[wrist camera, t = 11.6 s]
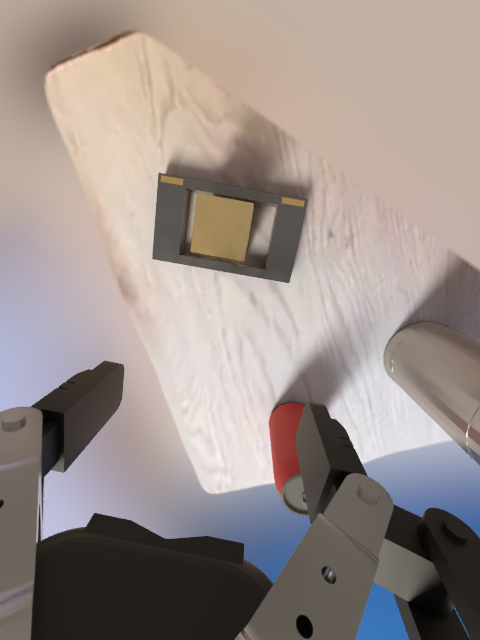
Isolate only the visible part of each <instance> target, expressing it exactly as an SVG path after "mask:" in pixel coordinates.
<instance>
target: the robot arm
mask: <svg viewBox="0 0 480 640" xmlns="http://www.w3.org/2000/svg"><path fill="white" fill-rule="evenodd" d="M384 366H385V370H386V371H387V373H388V375H389V376H390V377H391V378H392V379H393V380H394V381H395V382H396V383H397V384H398V385H399V386H400V387H401V388H402V389H403V390H404V391H405V392H406V393H407V394H408V395H409V396H410V397H411V398H412V399H413V400H414V401H415V402H416V403H417V404H418V405H419V406H420V407H421V408H422V409H423V410H424V411H425V412H426V413H427V414H428V415H429V416H430V417H431V418H432V419H433V420H434V421H435V422H436V423H437V424H438V425H439V426H440V427H441V428H442V429H443V430H444V431H445V432H446V433H447V434H448V435H449V436H450V437H451V438H452V439H453V440H454V441H455V442H456V443H458V445H459V446H460V447H461V448H462V449H464V450H465V452H466V453H467V454H469V455H470V456H471V457H472V458H473V459H474V460H475V461H476V462H477V463H478V464H479V465H480V342H479V341H477V340H475V339H472V338H470V337H468V336H466V335H464V334H461V333H459V332H457V331H454V330H452V329H450V328H448V327H445V326H443V325H441V324H438V323H434V322H420V323H415V324H412V325H410V326H407V327H405V328H404V329H402V330H400V331H399V332H398V333H397V334H396V335H395V336H394V337H393V338H392V339H391V341H390V342H389V343H388V345H387V348H386V350H385V354H384ZM123 378H124V366H123V364H119V363H114V362H109V361H103V362H102V363H101V364H99V365H98V366H97V367H96V368H94V369H93V370H86V371H83V372H81V373H78V374H76V375H74V376H73V377H71V378H70V379H69V380H67V382H65V383H63V384H62V385H60V386H59V388H56V389H55V390H53V391H52V392H51V393H49V394H48V395H47V396H45V397H44V398H42V399H41V400H40V401H38V402H37V403H35V404H34V405H32V406H31V407H17V408H12V409H8V410H5V411H2V412H0V640H355V639H356V635H357V632H358V629H359V626H360V622H361V619H362V616H363V613H364V610H365V606H366V603H367V600H368V597H369V593H370V590H371V587H372V584H373V582H375V583H376V584H378V585H380V586H382V587H384V588H385V589H387V590H389V591H391V592H392V593H394V596H395V599H396V602H397V605H398V608H399V611H400V613H401V617H402V619H403V622H404V625H405V628H406V631H407V634H408V637H409V639H410V640H480V539H479V538H478V536H477V535H476V534H475V532H473V530H472V529H471V528H470V527H469V526H468V525H466V524H465V523H464V522H463V521H461V520H460V519H459V518H457V517H456V516H454V515H452V514H450V513H448V512H446V511H444V510H441V509H437V508H429V509H427V510H426V511H425V513H424V515H423V517H422V518H421V517H419V516H417V515H415V514H413V513H411V512H408V511H406V510H404V509H402V508H400V507H398V506H396V505H394V504H393V501H392V499H391V497H390V495H389V493H388V492H387V491H386V490H385V489H384V488H383V487H382V486H381V485H380V484H379V483H378V482H376V481H375V480H373V479H371V478H370V477H368V476H367V474H366V472H365V470H364V468H363V465H362V463H361V461H360V459H359V457H358V455H357V453H356V451H355V449H353V444H352V442H351V441H350V438H349V436H348V434H347V432H346V430H345V428H344V427H343V426H342V425H341V424H340V423H339V422H338V421H337V420H335V419H331V418H330V415H329V413H328V410H327V408H326V406H325V405H321V404H316V403H311V402H307V403H306V404H305V407H304V410H303V413H302V417H301V420H300V423H299V427H298V430H297V434H296V450H297V455H298V460H299V466H300V471H301V476H302V481H303V486H304V492H305V497H306V502H307V507H308V512H309V518H310V523H311V524H312V525H311V527H310V528H309V530H308V531H307V533H306V534H305V536H304V537H303V539H302V541H301V542H300V544H299V545H298V547H297V548H296V550H295V551H294V554H293V555H292V556H291V558H290V559H289V561H288V563H287V564H286V566H285V567H284V569H283V570H282V572H281V573H280V575H279V576H278V578H277V579H276V581H275V583H274V584H273V583H272V582H271V581H270V580H269V578H268V577H267V576H266V575H265V574H264V573H262V571H261V570H259V569H258V568H257V567H255V566H254V565H253V564H252V563H250V562H249V561H247V560H245V559H243V557H244V544H243V543H238V542H234V541H229V540H224V539H219V538H214V537H209V536H203V537H190V538H178V539H164V538H162V537H160V536H159V535H157V534H155V533H153V532H151V531H149V530H148V529H145V528H144V527H142V526H140V525H138V524H137V523H135V522H133V521H131V520H126V519H121V518H116V517H111V516H107V515H102V514H97V513H94V515H93V516H92V518H91V520H90V521H89V523H88V525H87V526H86V527H81V528H76V529H71V530H67V531H64V532H61V533H58V534H55V535H53V536H50V537H48V538H46V539H44V540H43V512H44V477H45V475H46V474H47V473H48V472H49V471H50V470H54V471H59V472H65V471H66V470H67V469H68V467H69V466H70V465H71V464H72V463H73V462H74V460H75V459H76V458H77V457H78V455H79V454H80V453H81V452H82V451H83V450H84V449H85V447H86V446H87V445H88V444H89V443H90V441H91V440H92V439H93V438H94V437H95V435H96V434H97V433H98V432H99V431H100V430H101V428H102V427H103V426H104V425H105V424H106V422H107V421H108V420H109V419H110V418H111V416H112V415H113V414H114V413H115V412H116V410H117V409H118V407H119V405H120V403H121V400H122V393H123ZM454 607H455V608H456V610H457V612H458V614H459V616H460V618H461V620H462V622H463V624H464V626H465V628H466V630H467V632H468V635H469V637H470V639H469V637H468V635H467V633H466V631H465V630H464V627H463V625H462V623H461V621H460V619H459V617H458V615H457V613H456V611H455V609H454Z"/></svg>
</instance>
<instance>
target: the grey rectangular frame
mask: <svg viewBox="0 0 480 640" xmlns="http://www.w3.org/2000/svg"><path fill="white" fill-rule="evenodd" d="M190 192H196V193H201V194H207V195H213V196H218V197H224V198H229V199H235V200H240V201H246V202H252V203H257V204H263V205H268V206H274V207H276V212H275V217H274V222H273V227H272V232H271V237H270V242H269V248H268V253H267V258H266V263H265V268H260V267H255V266H249V265H243V264H238V263H232V262H226V261H221V260H215V259H209V258H204V257H198V256H193V255H187V254H183V252H184V243H185V233H186V224H187V214H188V205H189V195H190ZM307 201H308V200H307V199H302V198H296V197H291V196H285V195H280V194H274V193H268V192H263V191H257V190H252V189H246V188H241V187H235V186H229V185H224V184H218V183H213V182H207V181H202V180H196V179H190V178H185V177H179V176H174V175H168V174H162V173H159V175H158V189H157V203H156V217H155V230H154V244H153V258H152V259H155V260H161V261H167V262H172V263H178V264H184V265H189V266H195V267H201V268H206V269H212V270H218V271H223V272H229V273H235V274H240V275H246V276H252V277H257V278H263V279H269V280H274V281H280V282H286V283H289V282H290V277H291V273H292V268H293V264H294V259H295V255H296V250H297V246H298V241H299V237H300V233H301V228H302V224H303V219H304V215H305V210H306V206H307Z"/></svg>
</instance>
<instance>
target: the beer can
mask: <svg viewBox="0 0 480 640" xmlns="http://www.w3.org/2000/svg"><path fill="white" fill-rule="evenodd" d="M304 407H305V406H304V405H302V404H300V403H293V402H292V403H285V404H283V405H281V406H279V407H277V408H276V409H275V410H274V411H273V413H272V414H271V416H270V420H269V429H270V440H271V450H272V460H273V471H274V479H275V484H276V487H277V490H278V491H279V493H280V495H281V499H282V502H283V504H284V505H285V507H286V508H287V509H289V510H290V511H291V512H293V513H295V514H298V515H302V516H309V512H308V507H307V502H306V497H305V492H304V486H303V481H302V476H301V471H300V466H299V460H298V455H297V450H296V434H297V430H298V427H299V423H300V420H301V417H302V413H303V410H304Z"/></svg>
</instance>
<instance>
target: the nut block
mask: <svg viewBox="0 0 480 640" xmlns="http://www.w3.org/2000/svg"><path fill="white" fill-rule="evenodd" d="M253 211H254V203H250V202H244V201H239V200H233V199H228V198H222V197H217V196H211V195H206V194H200V193H197V198H196V207H195V215H194V224H193V233H192V241H191V250H190V252H195V253H200V254H205V255H210V256H216V257H221V258H227V259H234V260H239V261H244V260H245V257H246V252H247V246H248V241H249V235H250V229H251V223H252V218H253Z"/></svg>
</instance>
